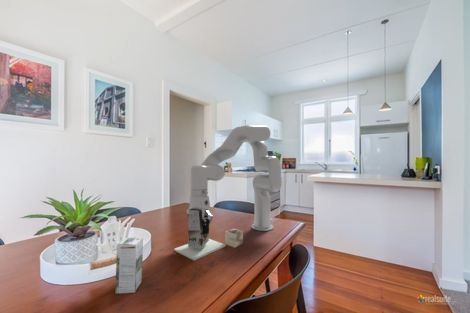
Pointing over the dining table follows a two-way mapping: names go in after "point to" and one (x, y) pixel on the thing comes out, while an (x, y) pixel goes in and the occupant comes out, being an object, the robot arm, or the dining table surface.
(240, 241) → the birch cube
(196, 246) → the coffee box
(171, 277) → the dining table surface
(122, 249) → the syrup box
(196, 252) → the sage mat
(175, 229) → the dining table surface
